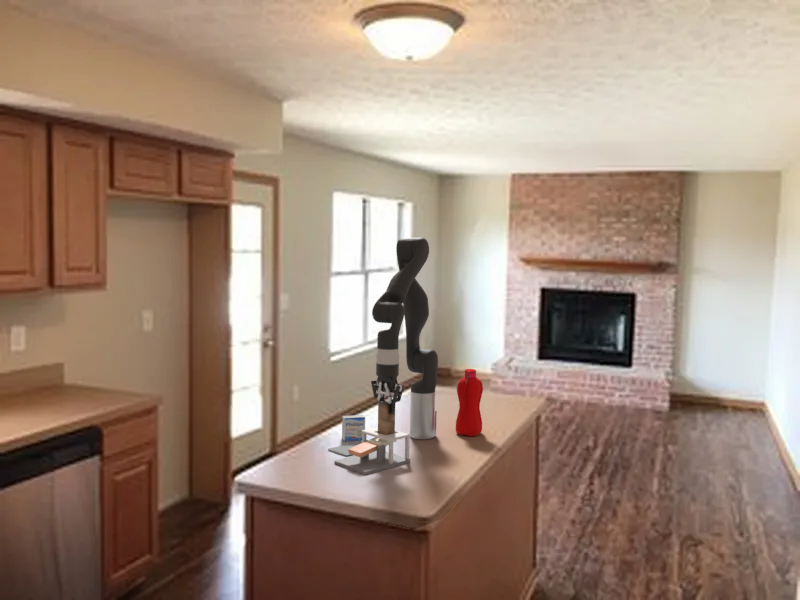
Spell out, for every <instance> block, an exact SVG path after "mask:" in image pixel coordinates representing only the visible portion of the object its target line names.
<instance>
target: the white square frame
mask: <svg viewBox="0 0 800 600" xmlns="http://www.w3.org/2000/svg"><path fill="white" fill-rule="evenodd" d="M361 433H362V440H360V443H359V444H361V443H363V442H366V441H368V440H369V439H367V436H370V437H372V438H375V437H377V438H380V439H383V440H387V441H389V445H388V451H386V450H387V448H386V447H387V446H385V445H382V446H378V447H377V451H374V452H372V453H370V454H368V455H366V456H364V457H358V456H355V455H351V456H347V457H345V458H341V459H337V460H334V465H337V466H339V467H341V468H345V469H348V470H350V471H353V472H356V473H359V474H362V475H364V476H366V475H369V474H373V473H377V472H381V471H384V470H387V469H390V468H391V469H392V468H394V467H397V466H398V467H399V466H401V465H402V466H403V465H405V464H408V463H411V459H410V443H411V442H410V440H411V439H410V438H411V437H410V433H407V432H403V431H400V430H396V429H395V433H394V434H390V435H383V434H379V433H378V426H374V427H371V428H365V430H361ZM401 439H404V440H405V441H404V442H405V443H404V446H405V447H404V456H402V455H398V454H394V443H393V441H394V440H397V441H398V440H401Z"/></svg>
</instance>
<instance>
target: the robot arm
mask: <svg viewBox="0 0 800 600" xmlns="http://www.w3.org/2000/svg"><path fill="white" fill-rule="evenodd" d="M395 250H396V257H397V258H396V259H397V265H398V269H399V271H398V272H397V273H395V274H394V275H393V276H392V277H391V280H390V282H389V283H388V286H387V289H386V290H385V291H384V292H383V294H381V296H380V297H379V298H378V299H377V300H376V302H375V303H374V305H373V307H372V309H371V315H372V318H373V320H374V321H375V322H377V323H378V324H379V323H380V324H391V326H390V327H389V329H381V330H379V331H378V333H377V343H376V345H377V348H376V357H375V358H376V359H375V364H376V365H375V375H376V376H377V378H376V379H373V380H371V381H370V383H371V384H370V385H371V388H372V394H373V397H374V399H377V401H383V400H386V396H387V400H389V412H388V413H389V414H394V413H395V414H396V403H398V402H401V399H402V396H403V392H404V388H405V387H404V385H403V384H399V383H398V376H399V375H400V373H399V372H400V371H399V370H400V353H399V338H400V337H399V336H400V331H401V327H402V324H403V321H404V323H405V324H404V325H405V336H406V339H405V343H406V344H405V345H406V348H405V349H406V357H405V358H406V366H407V368H408V370H409V371H410V372H412V373H417V374H422V378H421V379H420V380H417V381H415V382H412V383H411V384H410V407H409V409H410V412H409V413H410V414H409V420H410V421H409V434H410V438H412V439H415V440H416V439H417V440H431V439H434V437H437V417H438V416H437V410H436V386H437V383H438V369H439V357H438V355H439V354H437V351H436V350H435V349H428V348H421V346H420V337H421V333H422V330H423V329H424V327H425V325H426V323H427V321H428V319H429V315H430V309H429V307H430V306H429V299H428V295H427V294H426V291H425V290H424V289H423V287H422V286H421V284H420V283H419V281H417V279H416V277H417V276H418V274H420V272H421V270H422V268H423V267H424V265H425V264H426V262H427V261H428V258H429V254H430V246H429V242H428V240H427V239H426V238H424V237H402V238H401V237H400V238H399V239H398V240H397V242H396V249H395Z"/></svg>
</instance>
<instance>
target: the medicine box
mask: <svg viewBox="0 0 800 600" xmlns="http://www.w3.org/2000/svg"><path fill="white" fill-rule="evenodd" d="M341 417H342V418H341V422H342V423H341V439H342V440H343V442H357V441H362V433H361V430H366V417H365V416H364V415H363V414H356V415H354V414H353V415H342V416H341Z"/></svg>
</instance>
